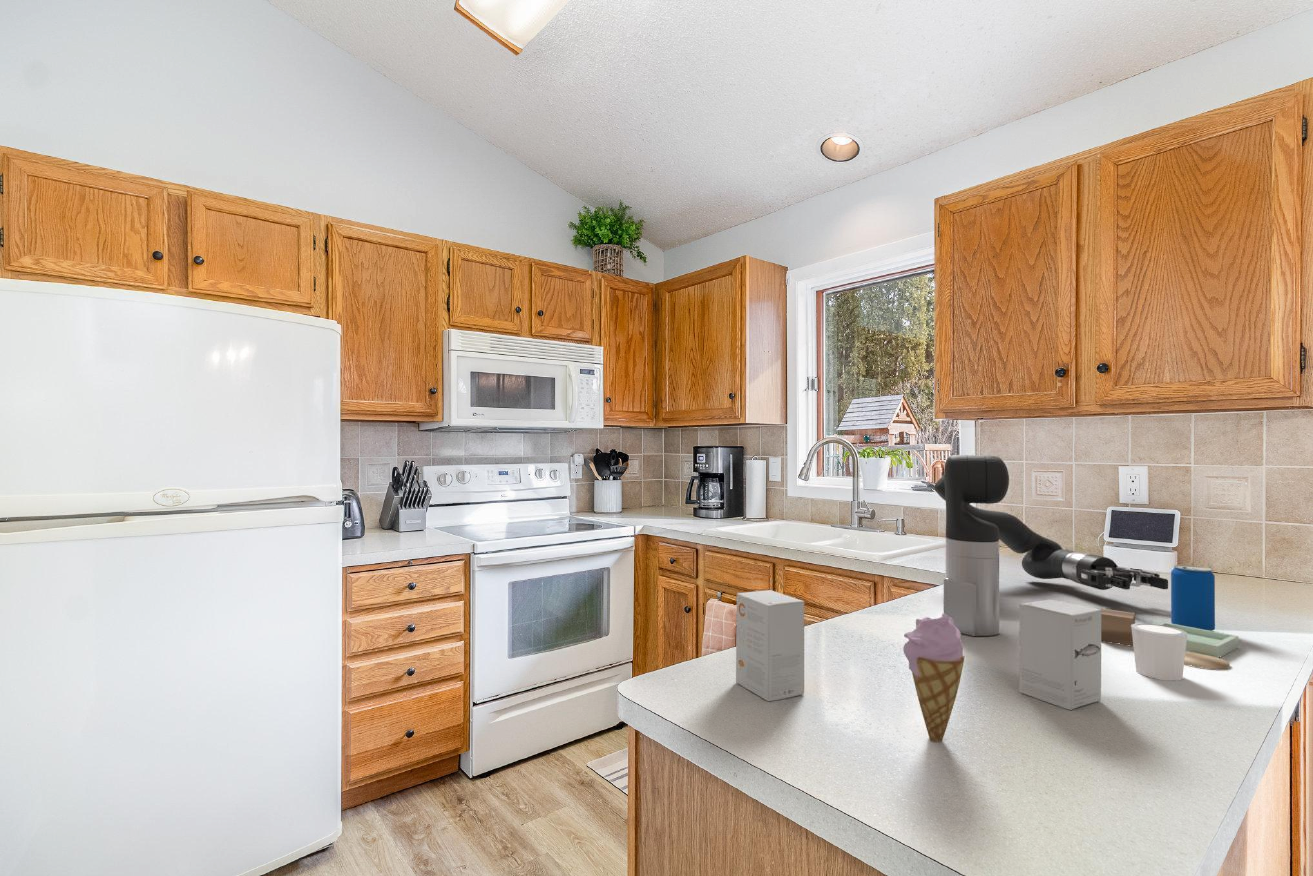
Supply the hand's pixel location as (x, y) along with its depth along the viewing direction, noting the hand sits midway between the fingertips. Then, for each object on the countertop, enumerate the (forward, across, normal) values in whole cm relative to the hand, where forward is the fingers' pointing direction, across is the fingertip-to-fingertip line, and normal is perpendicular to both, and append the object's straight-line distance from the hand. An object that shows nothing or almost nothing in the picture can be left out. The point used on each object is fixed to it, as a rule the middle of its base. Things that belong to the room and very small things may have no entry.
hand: (1147, 584), depth 133 cm
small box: (+37, +90, -7) cm, 97 cm away
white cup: (+34, +28, -7) cm, 44 cm away
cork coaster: (+28, +16, -7) cm, 33 cm away
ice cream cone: (+53, +74, -7) cm, 92 cm away
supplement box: (+42, +50, -7) cm, 66 cm away
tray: (+20, +10, -6) cm, 23 cm away
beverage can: (+10, 0, -7) cm, 12 cm away
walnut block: (+17, +21, -7) cm, 27 cm away
